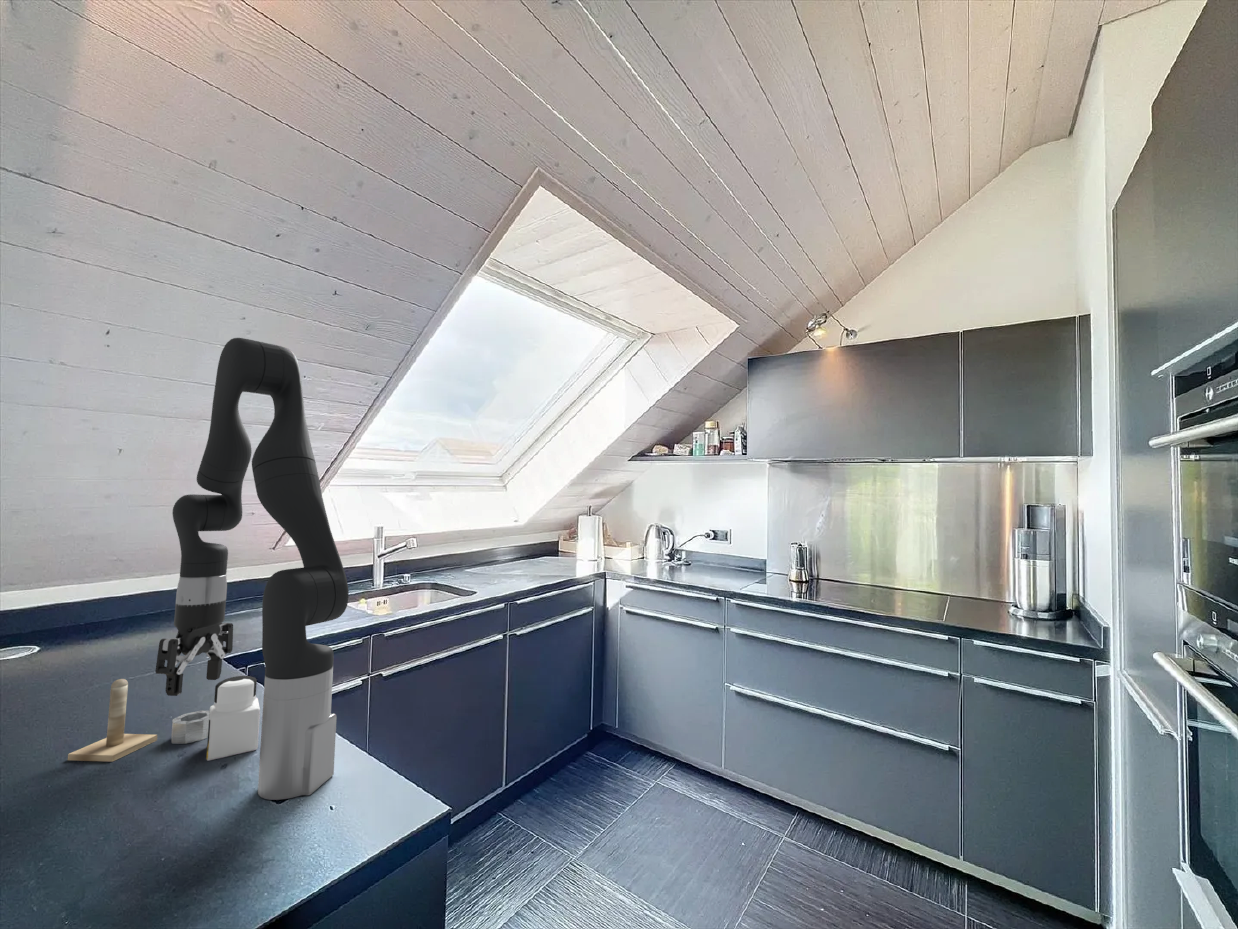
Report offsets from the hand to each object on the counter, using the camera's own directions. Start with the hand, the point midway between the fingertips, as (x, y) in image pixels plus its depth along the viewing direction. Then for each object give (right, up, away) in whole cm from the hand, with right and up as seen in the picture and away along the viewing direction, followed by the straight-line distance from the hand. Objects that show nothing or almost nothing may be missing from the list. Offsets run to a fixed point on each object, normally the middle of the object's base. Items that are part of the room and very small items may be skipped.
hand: (194, 686), depth 98 cm
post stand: (-9, -8, -6) cm, 14 cm away
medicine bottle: (+11, -9, -5) cm, 15 cm away
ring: (0, -9, -1) cm, 9 cm away
